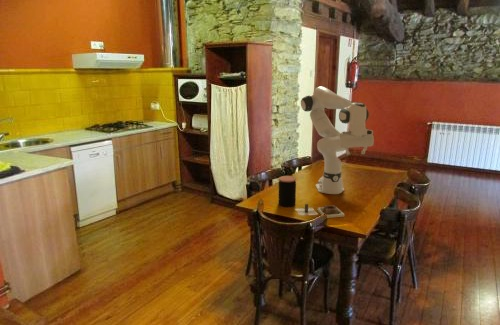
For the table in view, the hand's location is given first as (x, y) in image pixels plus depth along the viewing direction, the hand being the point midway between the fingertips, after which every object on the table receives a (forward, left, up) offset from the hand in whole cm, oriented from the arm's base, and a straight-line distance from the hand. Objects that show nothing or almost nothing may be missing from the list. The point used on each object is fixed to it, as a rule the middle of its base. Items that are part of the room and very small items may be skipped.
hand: (355, 154), depth 207 cm
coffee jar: (-12, -38, -34) cm, 53 cm away
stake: (+2, -30, -34) cm, 45 cm away
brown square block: (+7, -17, -34) cm, 38 cm away
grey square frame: (+7, -17, -34) cm, 39 cm away
